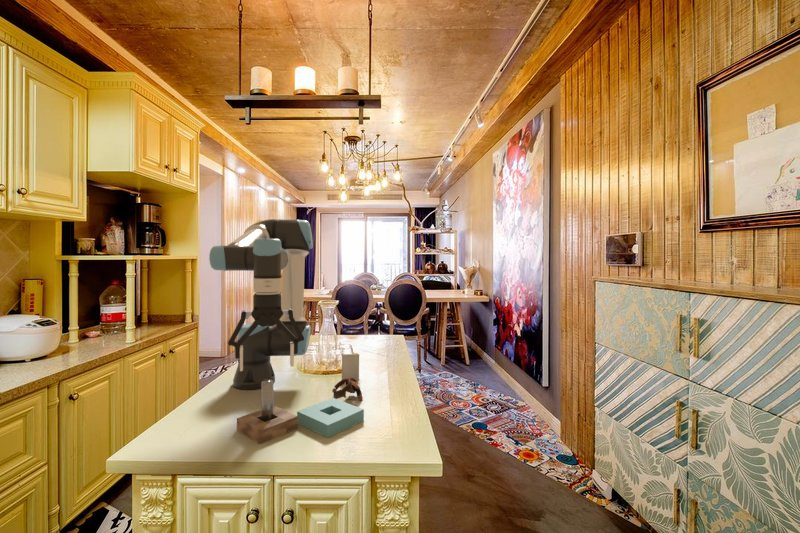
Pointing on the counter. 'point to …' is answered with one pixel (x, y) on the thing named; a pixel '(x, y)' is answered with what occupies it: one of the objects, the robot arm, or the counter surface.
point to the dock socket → (330, 417)
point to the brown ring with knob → (347, 388)
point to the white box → (350, 366)
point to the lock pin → (267, 400)
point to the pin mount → (267, 425)
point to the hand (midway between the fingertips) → (267, 367)
